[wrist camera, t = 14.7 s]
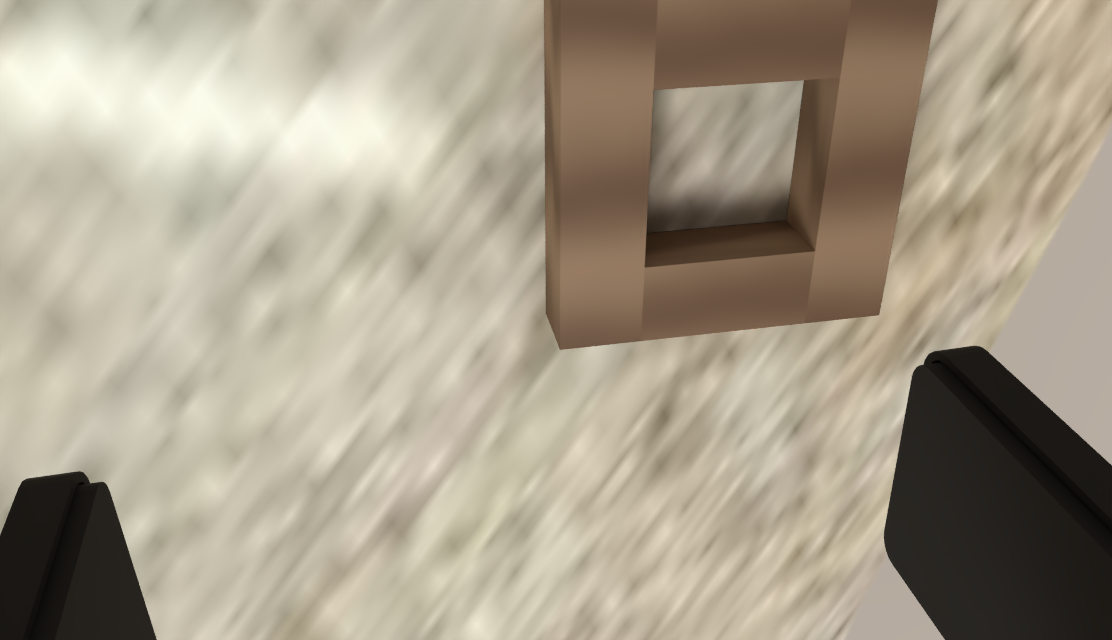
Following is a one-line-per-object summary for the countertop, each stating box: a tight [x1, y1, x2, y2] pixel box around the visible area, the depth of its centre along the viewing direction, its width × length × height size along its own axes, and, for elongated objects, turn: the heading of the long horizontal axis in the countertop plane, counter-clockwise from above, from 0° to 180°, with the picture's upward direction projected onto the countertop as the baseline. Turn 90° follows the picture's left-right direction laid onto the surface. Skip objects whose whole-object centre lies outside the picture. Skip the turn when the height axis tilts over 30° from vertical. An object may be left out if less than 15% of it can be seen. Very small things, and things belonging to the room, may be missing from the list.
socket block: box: [544, 0, 938, 350], centre depth 40 cm, size 14×14×3 cm
